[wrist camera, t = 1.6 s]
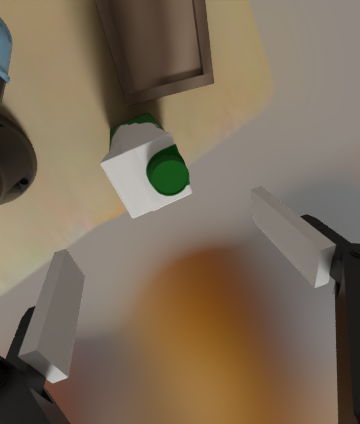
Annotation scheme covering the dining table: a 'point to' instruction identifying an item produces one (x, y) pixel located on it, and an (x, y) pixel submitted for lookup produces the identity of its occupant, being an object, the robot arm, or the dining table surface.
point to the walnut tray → (157, 46)
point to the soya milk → (145, 166)
